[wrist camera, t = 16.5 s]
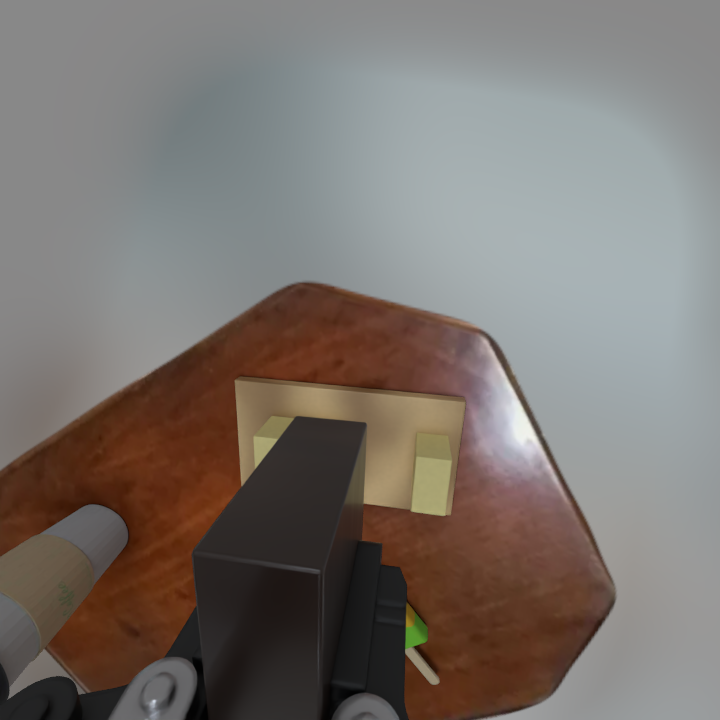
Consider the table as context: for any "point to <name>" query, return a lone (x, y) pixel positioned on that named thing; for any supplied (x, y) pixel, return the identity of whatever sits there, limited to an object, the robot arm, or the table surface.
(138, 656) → the table surface
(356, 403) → the board
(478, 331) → the table surface
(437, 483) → the butter pat
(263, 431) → the butter stick
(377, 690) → the robot arm
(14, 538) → the table surface
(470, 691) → the table surface
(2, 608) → the coffee cup
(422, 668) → the popsicle
